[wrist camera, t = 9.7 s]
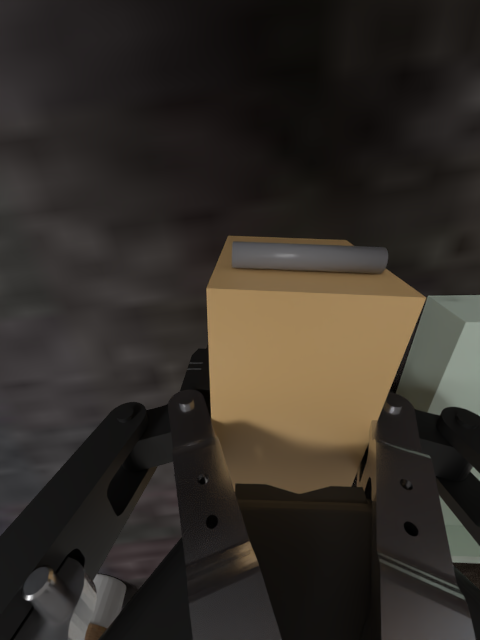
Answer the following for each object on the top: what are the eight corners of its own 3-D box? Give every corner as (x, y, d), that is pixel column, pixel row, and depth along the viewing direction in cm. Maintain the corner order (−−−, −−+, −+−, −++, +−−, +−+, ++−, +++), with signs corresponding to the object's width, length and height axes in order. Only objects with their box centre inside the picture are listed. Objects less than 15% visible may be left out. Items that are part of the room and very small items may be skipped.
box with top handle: (228, 217, 11) (205, 256, 6) (349, 221, 11) (439, 265, 6) (227, 426, 17) (215, 538, 12) (304, 431, 17) (327, 545, 12)
